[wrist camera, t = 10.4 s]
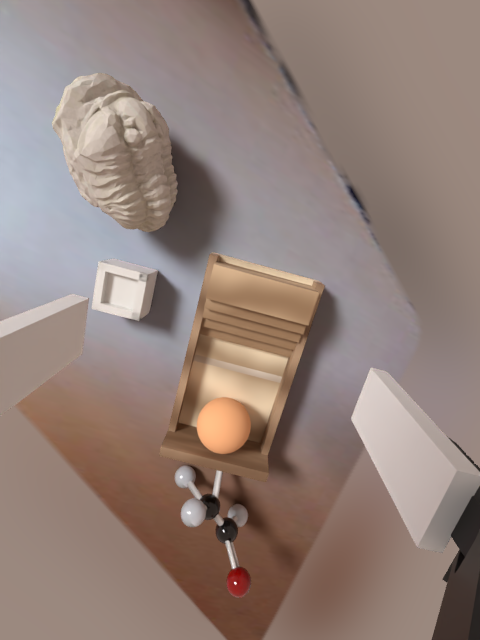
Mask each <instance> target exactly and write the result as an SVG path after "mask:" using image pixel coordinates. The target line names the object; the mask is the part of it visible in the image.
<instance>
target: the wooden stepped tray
mask: <svg viewBox="0 0 480 640" xmlns="http://www.w3.org/2000/svg"><path fill="white" fill-rule="evenodd" d="M324 286H325V285H323V284H322V283H321V282H319V281H317V280H313V279H310V278H306V277H302V276H299V275H295V274H291V273H288V272H284V271H280V270H277V269H273V268H269V267H266V266H262V265H258V264H255V263H251V262H247V261H243V260H240V259H236V258H232V257H229V256H225V255H221V254H218V253H214V252H213V253H211V254H210V255H209V259H208V264H207V268H206V272H205V276H204V281H203V285H202V289H201V293H200V297H199V302H198V306H197V310H196V314H195V319H194V323H193V327H192V331H191V336H190V340H189V344H188V348H187V352H186V357H185V361H184V365H183V369H182V374H181V378H180V382H179V386H178V390H177V395H176V399H175V403H174V407H173V412H172V416H171V420H170V424H169V428H168V432H167V434H166V436H165V439H164V441H163V444H162V446H161V450H160V454H159V456H162V457H166V458H170V459H174V460H178V461H182V462H186V463H190V464H194V465H198V466H202V467H206V468H210V469H214V470H218V471H222V472H226V473H230V474H234V475H238V476H242V477H246V478H250V479H254V480H258V481H263V482H266V481H267V478H268V475H269V468H268V453H269V450H270V447H271V444H272V441H273V438H274V435H275V432H276V429H277V426H278V423H279V420H280V417H281V414H282V411H283V408H284V405H285V402H286V399H287V396H288V393H289V390H290V387H291V384H292V381H293V379H294V376H295V373H296V370H297V367H298V364H299V361H300V358H301V355H302V352H303V349H304V346H305V343H306V340H307V337H308V334H309V331H310V328H311V325H312V322H313V319H314V316H315V313H316V310H317V307H318V304H319V301H320V298H321V295H322V292H323V289H324ZM221 397H227V398H232V399H235V400H237V401H238V402H240V403H241V404H242V405H243V406H244V407H245V408H246V410H247V412H248V414H249V417H250V421H251V429H250V434H249V437H248V439H247V441H246V442H245V443H244V445H243V446H242V447H241V448H239V449H238V450H236V451H234V452H232V453H228V454H219V453H215V452H212V451H210V450H209V449H207V448H206V447H205V446H204V445H203V443H202V442H201V440H200V438H199V436H198V433H197V419H198V416H199V413H200V412H201V410H202V408H203V407H204V406H205V405H206V404H207V403H209V402H210V401H212V400H214V399H216V398H221Z"/></svg>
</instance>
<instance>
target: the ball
mask: <svg viewBox="0 0 480 640" xmlns="http://www.w3.org/2000/svg"><path fill="white" fill-rule="evenodd" d="M250 429H251V421H250V417H249V414H248V412H247V410H246V408H245V407H244V406H243V405H242V404H241V403H240V402H238V401H237V400H235V399H232V398H227V397H221V398H216V399H214V400H212V401H210V402H209V403H207V404H206V405H205V406H204V407H203V408H202V410H201V412H200V413H199V416H198V419H197V433H198V436H199V438H200V440H201V442H202V443H203V445H204V446H205V447H206V448H207V449H209V450H210V451H212V452H215V453H219V454H228V453H232V452H234V451H236V450H238V449H239V448H241V447H242V446H243V445H244V443H245V442H246V441H247V439H248V437H249V434H250Z"/></svg>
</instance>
